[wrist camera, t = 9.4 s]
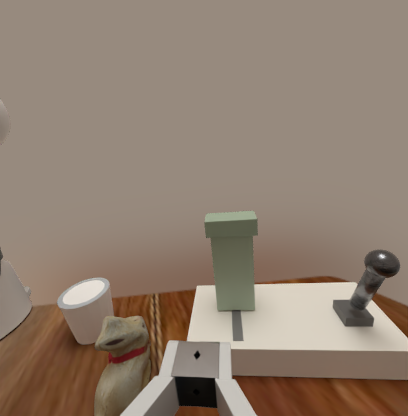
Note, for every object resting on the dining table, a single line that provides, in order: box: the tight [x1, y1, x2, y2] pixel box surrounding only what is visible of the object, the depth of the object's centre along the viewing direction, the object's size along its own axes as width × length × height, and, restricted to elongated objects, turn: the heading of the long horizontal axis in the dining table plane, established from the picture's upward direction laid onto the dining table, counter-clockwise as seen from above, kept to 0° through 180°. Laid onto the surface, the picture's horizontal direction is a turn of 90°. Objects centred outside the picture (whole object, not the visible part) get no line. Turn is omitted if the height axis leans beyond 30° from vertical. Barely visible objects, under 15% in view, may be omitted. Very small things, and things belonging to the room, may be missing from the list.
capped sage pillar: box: [205, 211, 258, 310], centre depth 27 cm, size 6×3×13 cm, turn 85°
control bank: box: [187, 282, 408, 380], centre depth 28 cm, size 24×11×5 cm, turn 85°
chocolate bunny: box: [94, 316, 151, 416], centre depth 23 cm, size 6×8×10 cm
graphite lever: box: [349, 250, 400, 311], centre depth 22 cm, size 3×3×9 cm
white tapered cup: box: [57, 278, 114, 345], centre depth 32 cm, size 7×7×7 cm
